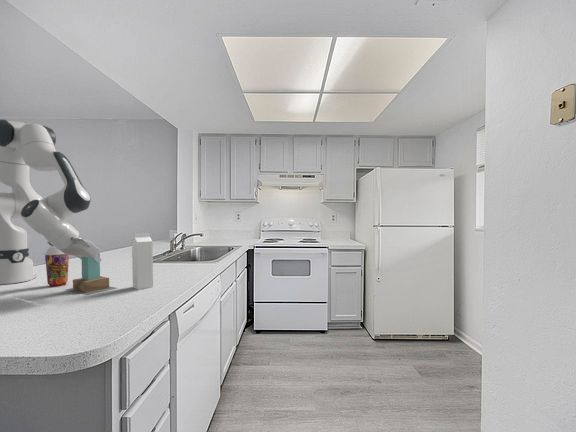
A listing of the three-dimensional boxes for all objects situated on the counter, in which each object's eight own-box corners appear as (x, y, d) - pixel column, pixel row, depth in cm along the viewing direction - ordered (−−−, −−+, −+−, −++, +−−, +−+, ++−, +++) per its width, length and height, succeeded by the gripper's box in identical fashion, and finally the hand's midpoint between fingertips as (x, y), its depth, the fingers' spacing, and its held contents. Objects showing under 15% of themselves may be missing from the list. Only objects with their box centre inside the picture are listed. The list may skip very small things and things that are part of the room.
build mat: (64, 290, 130) (64, 289, 130) (94, 284, 140) (94, 283, 140) (87, 296, 122) (87, 294, 122) (118, 289, 132) (118, 288, 132)
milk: (153, 288, 134) (152, 233, 133) (137, 290, 130) (137, 234, 129) (147, 285, 138) (147, 232, 138) (132, 287, 134) (131, 233, 134)
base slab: (73, 289, 129) (72, 279, 129) (96, 285, 137) (96, 275, 137) (86, 292, 125) (85, 282, 125) (109, 287, 133) (109, 277, 133)
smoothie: (49, 289, 132) (48, 239, 132) (42, 286, 137) (41, 237, 137) (73, 285, 139) (72, 237, 138) (65, 282, 144) (64, 236, 143)
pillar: (81, 279, 130) (81, 251, 130) (93, 277, 134) (93, 249, 134) (88, 280, 128) (87, 251, 128) (100, 278, 132) (99, 250, 132)
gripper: (87, 231, 119) (113, 255, 128) (57, 230, 130) (83, 252, 138) (74, 245, 116) (102, 269, 124) (44, 242, 126) (72, 264, 135)
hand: (92, 260), depth 131 cm, fingers open, 8 cm apart
